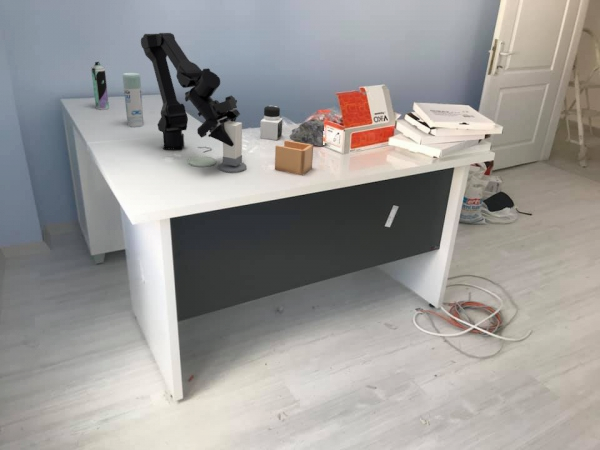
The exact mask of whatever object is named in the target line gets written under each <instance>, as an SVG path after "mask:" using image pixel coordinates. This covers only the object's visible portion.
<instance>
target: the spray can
mask: <svg viewBox="0 0 600 450" xmlns="http://www.w3.org/2000/svg"><path fill="white" fill-rule="evenodd" d="M90 71H91V78H92V85H93V93H94V103H95V108H96V110H100V111H101V110H103V111H104V110H109V109H110V105H109V103H110V102H109V96H108V86H107V85H108V84H107V78H106V77H107V76H106V69H105V67H104V66H102V64H101V63H100V61H95V62H94V65H93V66H92V67H91V70H90Z"/></svg>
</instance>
